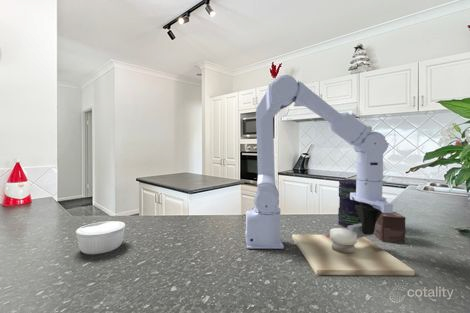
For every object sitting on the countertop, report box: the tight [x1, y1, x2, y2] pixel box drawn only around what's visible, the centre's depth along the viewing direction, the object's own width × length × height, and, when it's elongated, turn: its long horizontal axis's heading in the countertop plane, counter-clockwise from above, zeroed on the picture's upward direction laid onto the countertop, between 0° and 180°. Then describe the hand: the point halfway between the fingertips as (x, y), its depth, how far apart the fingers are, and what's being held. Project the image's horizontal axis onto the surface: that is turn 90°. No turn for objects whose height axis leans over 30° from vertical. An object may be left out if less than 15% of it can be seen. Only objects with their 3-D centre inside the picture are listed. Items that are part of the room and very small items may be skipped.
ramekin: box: [75, 220, 126, 255], centre depth 60 cm, size 11×11×5 cm
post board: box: [291, 233, 416, 276], centre depth 58 cm, size 20×20×3 cm
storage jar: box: [337, 179, 361, 229], centre depth 79 cm, size 10×10×15 cm
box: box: [373, 211, 407, 244], centre depth 68 cm, size 6×6×7 cm
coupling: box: [329, 223, 371, 245], centre depth 59 cm, size 12×6×3 cm, turn 116°
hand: (367, 233), depth 59 cm, fingers closed, pressing on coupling
